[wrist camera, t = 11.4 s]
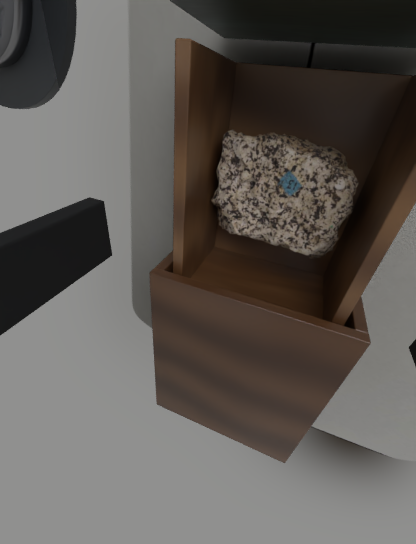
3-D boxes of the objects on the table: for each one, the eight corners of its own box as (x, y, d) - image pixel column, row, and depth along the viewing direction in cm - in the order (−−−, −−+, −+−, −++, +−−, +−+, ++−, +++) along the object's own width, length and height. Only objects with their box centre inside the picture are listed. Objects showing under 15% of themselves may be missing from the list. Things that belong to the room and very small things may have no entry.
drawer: (235, -94, 14) (152, -283, 7) (532, -119, 11) (895, -508, 4) (204, 245, 27) (163, 292, 20) (337, 280, 23) (342, 353, 17)
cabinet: (203, 220, 26) (149, 272, 18) (353, 256, 23) (371, 343, 14) (193, 337, 37) (156, 404, 29) (294, 375, 33) (284, 463, 25)
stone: (222, 237, 24) (337, 241, 21) (210, 266, 20) (347, 275, 18) (214, 127, 19) (365, 114, 16) (195, 137, 15) (388, 122, 12)
